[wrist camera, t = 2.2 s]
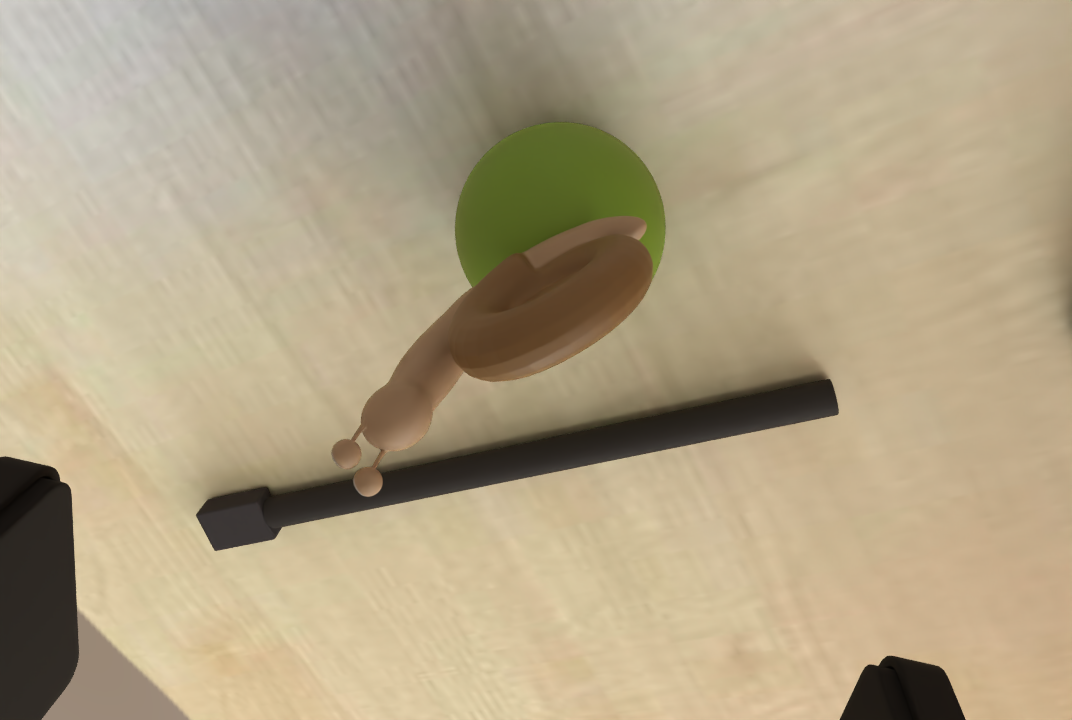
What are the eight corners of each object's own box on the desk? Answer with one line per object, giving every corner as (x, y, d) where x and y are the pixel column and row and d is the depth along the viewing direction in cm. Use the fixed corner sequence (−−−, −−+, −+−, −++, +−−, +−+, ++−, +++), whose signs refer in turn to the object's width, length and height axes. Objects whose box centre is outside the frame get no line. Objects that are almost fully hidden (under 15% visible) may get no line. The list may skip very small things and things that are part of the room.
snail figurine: (410, 186, 26) (245, 362, 15) (601, 67, 24) (567, 170, 13) (511, 336, 28) (426, 590, 17) (697, 235, 26) (737, 450, 15)
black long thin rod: (227, 534, 32) (213, 553, 31) (208, 497, 32) (193, 515, 31) (835, 410, 27) (842, 428, 26) (826, 365, 27) (833, 381, 26)
